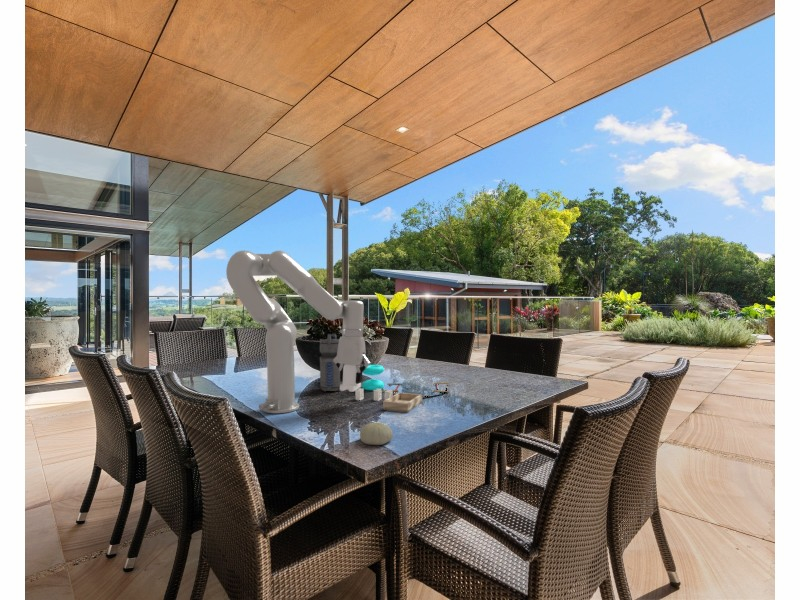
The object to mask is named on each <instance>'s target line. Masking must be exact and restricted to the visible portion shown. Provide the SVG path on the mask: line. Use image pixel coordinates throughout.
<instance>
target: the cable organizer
mask: <svg viewBox="0 0 800 600" xmlns="http://www.w3.org/2000/svg"><path fill="white" fill-rule="evenodd" d="M356 373H357V368H356V365H347V364H345V365H344V367H343V384H341V385H340V390H339V391H341V392H344V391H346V390H347V391H348V392H349V393H350V392H351V393H352V392H355V390H358V389H359V388H360V389H361V388H362V382H361V383H359V384H356Z"/></svg>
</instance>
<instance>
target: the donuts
mask: <svg viewBox="0 0 800 600" xmlns="http://www.w3.org/2000/svg"><path fill="white" fill-rule="evenodd" d="M384 371H385V368H384V366H383V365H381V364H370V365H369V366H368V367H367V368H366V369H365V370H364V371H363V372H362V374H363V375H366V376H378V375H381V374H383V372H384ZM384 386H385V383H384V381H382V380H380V379H375V378H374V379H373V378H372V379H366V380H364V381H362V382H361V389H364V391H365V390H366V391H374V390H376V389H383V388H384Z"/></svg>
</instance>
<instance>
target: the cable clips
mask: <svg viewBox="0 0 800 600" xmlns="http://www.w3.org/2000/svg"><path fill="white" fill-rule="evenodd" d="M382 389H383V388H382ZM382 389H376V390H373V401H374V402H375V401H376V402H379V401H381V400H382V399H383V398H382V391H383V390H382ZM393 390H394V389H393ZM393 390H392V389H387V391H385V390H384V391H385V392H384V401H385V400H387V399H388V398H390V397H392V396H394V395H393ZM364 391H365V389H363V388H361V387H360V388H358V389H357V390H355V391H354V392H355V393H354V394H355V401H359V400H360V401H362V400H364Z"/></svg>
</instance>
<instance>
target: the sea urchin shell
mask: <svg viewBox="0 0 800 600" xmlns="http://www.w3.org/2000/svg"><path fill="white" fill-rule="evenodd" d="M393 435H394V433H393V430H392V428H391V427H390V426H388V425H387V424H384V423H381V422H375V421H374V422H369V423H367V424H365V425H364V426H362V428H361V429H360V432H359V438H360V441H361V442H362V443H364V444H365V445H370V446H371V445H372V446H373V445H374V446H381V445H384V444H387V443H388V442H390V441H391V440H392V439H393Z"/></svg>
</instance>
